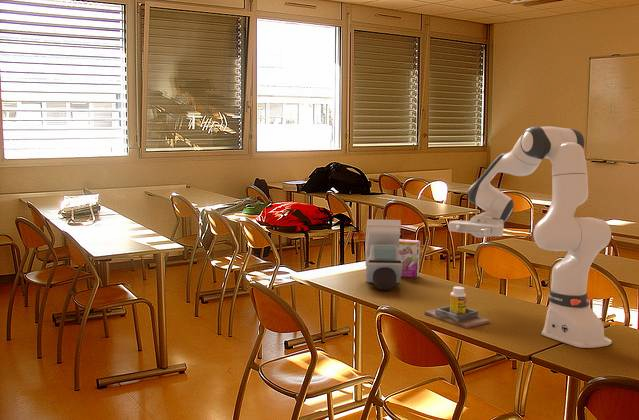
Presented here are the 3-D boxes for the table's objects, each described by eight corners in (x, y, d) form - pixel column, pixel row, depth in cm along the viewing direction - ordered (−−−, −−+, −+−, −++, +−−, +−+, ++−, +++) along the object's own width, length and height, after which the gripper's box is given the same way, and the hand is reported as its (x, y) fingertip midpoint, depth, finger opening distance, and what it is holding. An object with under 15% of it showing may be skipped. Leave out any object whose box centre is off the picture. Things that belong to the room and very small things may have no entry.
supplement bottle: (457, 318, 239) (458, 290, 237) (446, 314, 243) (447, 286, 242) (468, 316, 242) (470, 288, 240) (457, 312, 246) (458, 285, 245)
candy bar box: (392, 276, 306) (393, 240, 304) (394, 274, 311) (395, 238, 308) (417, 278, 303) (418, 242, 301) (418, 275, 308) (420, 240, 306)
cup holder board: (489, 322, 238) (490, 314, 238) (466, 328, 231) (466, 319, 231) (447, 309, 254) (447, 301, 254) (424, 314, 247) (424, 306, 247)
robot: (400, 307, 287) (396, 251, 307) (404, 276, 271) (400, 220, 291) (365, 306, 287) (364, 251, 307) (368, 275, 271) (366, 219, 291)
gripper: (454, 215, 266) (443, 219, 254) (507, 220, 256) (498, 224, 244) (454, 231, 267) (442, 236, 255) (506, 236, 257) (497, 242, 245)
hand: (470, 230), depth 249 cm, fingers open, 8 cm apart
